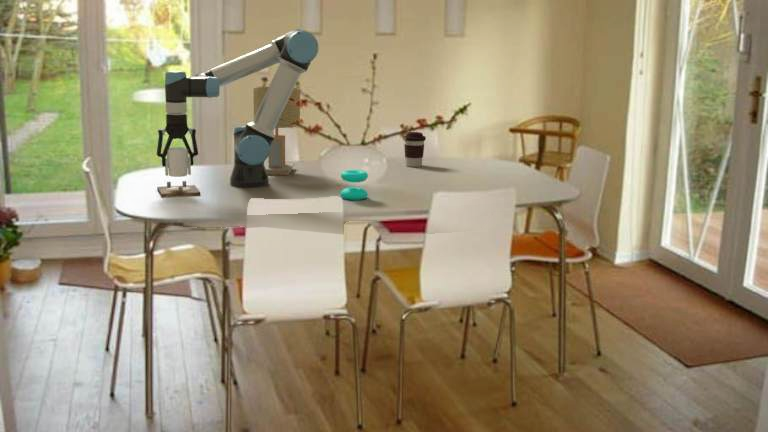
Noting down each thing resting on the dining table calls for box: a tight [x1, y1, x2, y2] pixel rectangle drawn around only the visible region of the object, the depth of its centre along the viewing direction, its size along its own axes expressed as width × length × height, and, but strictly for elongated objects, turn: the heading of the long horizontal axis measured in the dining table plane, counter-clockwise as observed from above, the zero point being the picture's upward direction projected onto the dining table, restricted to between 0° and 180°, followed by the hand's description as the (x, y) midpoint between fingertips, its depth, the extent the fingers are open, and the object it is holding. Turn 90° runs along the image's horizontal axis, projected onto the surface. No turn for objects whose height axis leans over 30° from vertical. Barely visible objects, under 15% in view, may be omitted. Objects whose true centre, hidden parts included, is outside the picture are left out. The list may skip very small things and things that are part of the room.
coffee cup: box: [403, 131, 426, 168], centre depth 405 cm, size 10×10×15 cm
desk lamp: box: [252, 86, 301, 176], centre depth 381 cm, size 20×20×35 cm
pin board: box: [156, 180, 201, 198], centre depth 338 cm, size 14×14×3 cm
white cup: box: [166, 146, 189, 178], centre depth 336 cm, size 8×8×10 cm
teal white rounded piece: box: [340, 169, 369, 201], centre depth 336 cm, size 10×10×10 cm
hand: (178, 174), depth 337 cm, fingers closed on white cup, 8 cm apart
